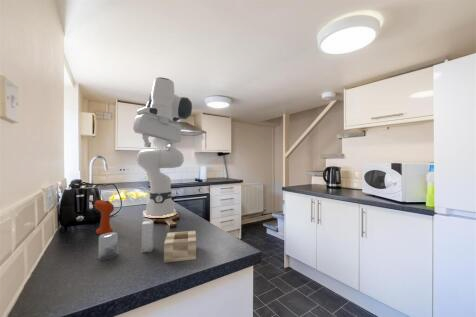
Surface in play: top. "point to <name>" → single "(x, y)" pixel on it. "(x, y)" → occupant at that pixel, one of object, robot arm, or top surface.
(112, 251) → the round bit
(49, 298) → the top surface
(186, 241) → the socket block
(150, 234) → the square bit
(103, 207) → the toy drill
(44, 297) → the top surface
